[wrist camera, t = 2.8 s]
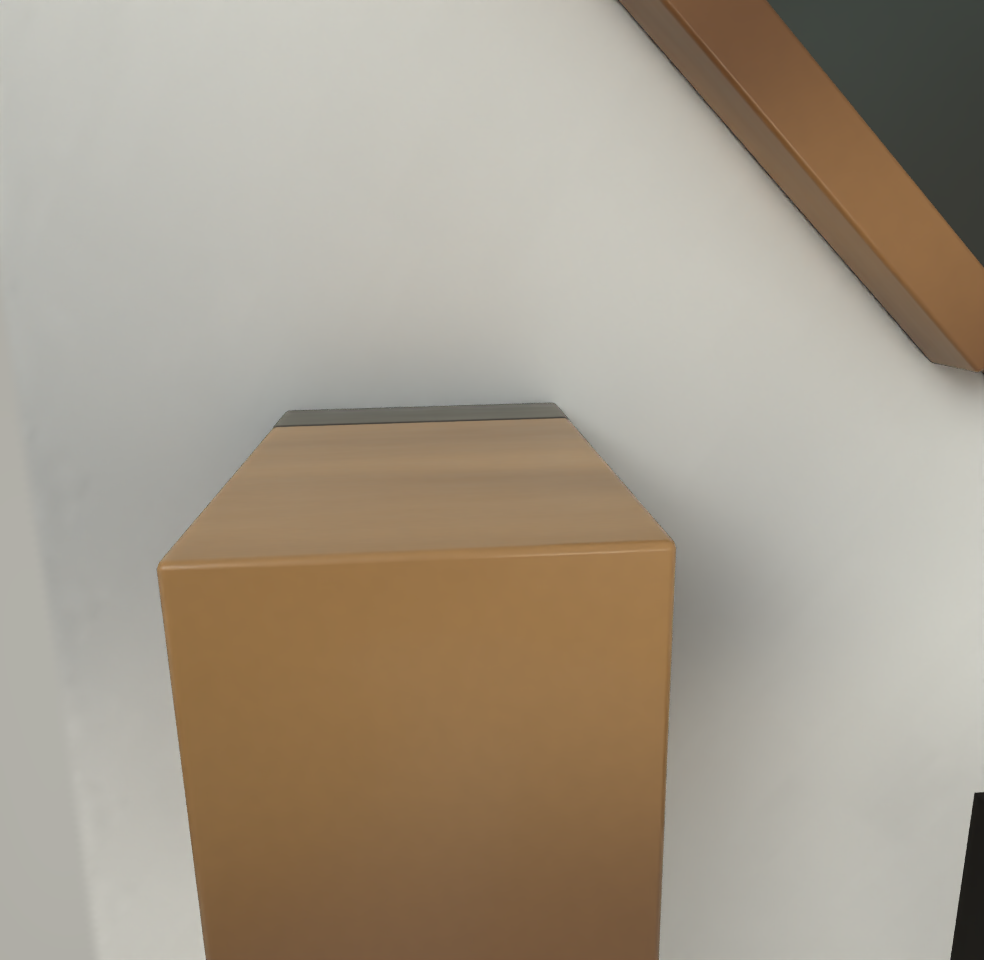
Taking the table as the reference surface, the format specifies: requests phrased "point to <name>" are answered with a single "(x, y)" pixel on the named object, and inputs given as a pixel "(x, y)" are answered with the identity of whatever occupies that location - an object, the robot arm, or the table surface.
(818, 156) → the slate board
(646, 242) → the table surface
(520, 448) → the eraser
